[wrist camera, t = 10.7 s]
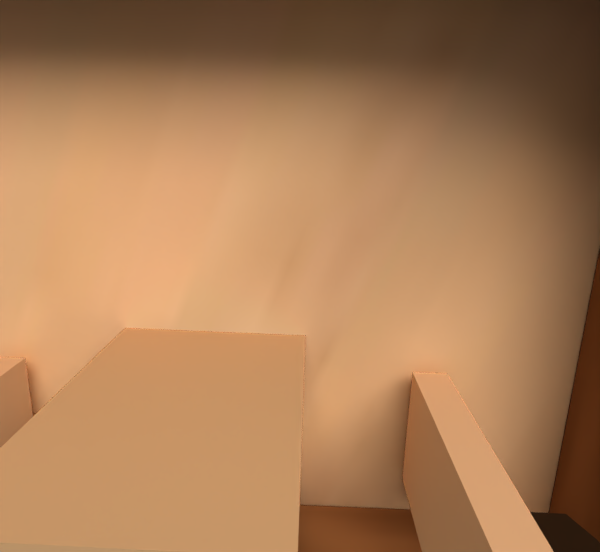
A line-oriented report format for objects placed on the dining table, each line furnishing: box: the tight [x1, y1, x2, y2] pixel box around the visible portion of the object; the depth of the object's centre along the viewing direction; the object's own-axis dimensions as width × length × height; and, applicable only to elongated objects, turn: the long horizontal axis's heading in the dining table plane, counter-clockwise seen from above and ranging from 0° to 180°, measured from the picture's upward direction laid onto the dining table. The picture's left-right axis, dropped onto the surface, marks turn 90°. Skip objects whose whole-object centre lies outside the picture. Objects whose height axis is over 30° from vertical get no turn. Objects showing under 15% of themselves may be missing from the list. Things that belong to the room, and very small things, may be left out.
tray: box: [298, 251, 600, 552], centre depth 9 cm, size 20×13×2 cm, turn 88°
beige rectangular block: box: [0, 328, 306, 552], centre depth 8 cm, size 4×4×6 cm
